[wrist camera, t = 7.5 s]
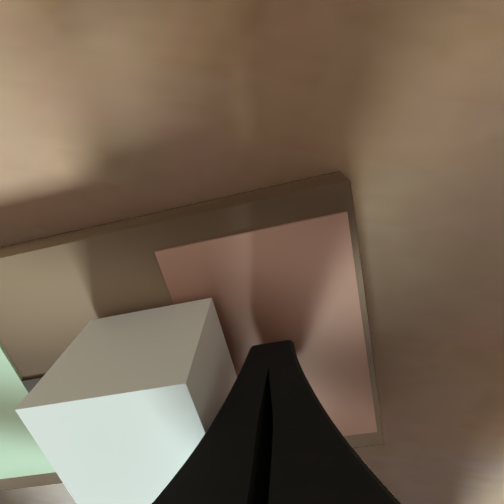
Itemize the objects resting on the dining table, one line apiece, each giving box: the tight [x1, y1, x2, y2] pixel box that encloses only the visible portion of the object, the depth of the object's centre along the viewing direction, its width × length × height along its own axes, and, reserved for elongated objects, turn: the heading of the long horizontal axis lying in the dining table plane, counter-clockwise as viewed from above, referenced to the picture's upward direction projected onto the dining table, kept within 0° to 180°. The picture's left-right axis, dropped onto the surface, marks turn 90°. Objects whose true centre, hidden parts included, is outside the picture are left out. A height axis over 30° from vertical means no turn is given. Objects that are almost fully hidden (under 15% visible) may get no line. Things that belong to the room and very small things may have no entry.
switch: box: [0, 171, 384, 490], centre depth 13 cm, size 10×22×2 cm, turn 103°
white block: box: [15, 298, 237, 504], centre depth 10 cm, size 5×4×4 cm
